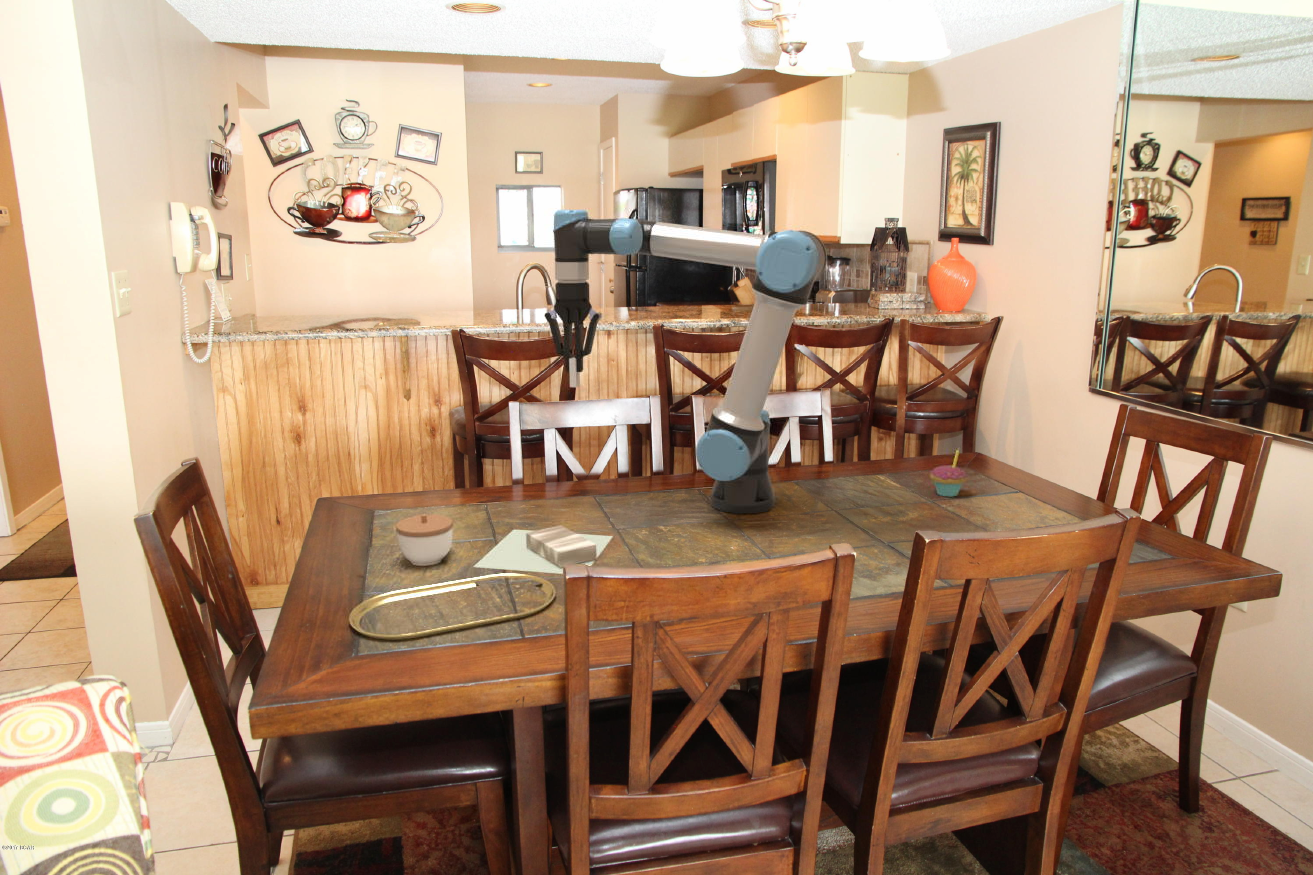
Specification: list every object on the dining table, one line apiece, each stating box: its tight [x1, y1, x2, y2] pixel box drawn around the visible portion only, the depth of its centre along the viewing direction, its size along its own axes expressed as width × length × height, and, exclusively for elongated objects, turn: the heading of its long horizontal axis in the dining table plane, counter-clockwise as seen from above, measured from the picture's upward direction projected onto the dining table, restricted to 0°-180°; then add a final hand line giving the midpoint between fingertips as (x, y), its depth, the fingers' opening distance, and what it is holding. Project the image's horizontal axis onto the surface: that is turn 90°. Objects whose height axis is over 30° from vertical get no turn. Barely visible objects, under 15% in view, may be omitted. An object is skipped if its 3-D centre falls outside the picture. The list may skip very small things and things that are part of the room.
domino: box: [526, 525, 598, 568], centre depth 178 cm, size 3×8×14 cm
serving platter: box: [348, 573, 556, 641], centre depth 154 cm, size 19×35×2 cm, turn 115°
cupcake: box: [929, 447, 968, 498], centre depth 217 cm, size 9×8×12 cm
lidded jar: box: [395, 513, 454, 567], centre depth 175 cm, size 11×11×9 cm
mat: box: [473, 529, 614, 575], centre depth 180 cm, size 22×22×1 cm
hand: (574, 386), depth 204 cm, fingers closed
